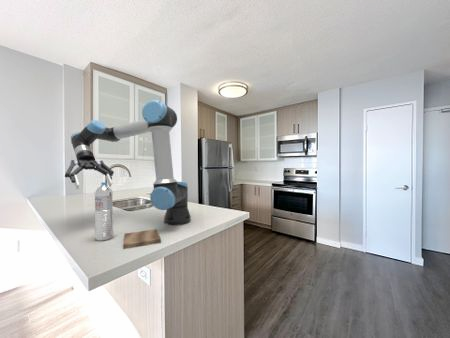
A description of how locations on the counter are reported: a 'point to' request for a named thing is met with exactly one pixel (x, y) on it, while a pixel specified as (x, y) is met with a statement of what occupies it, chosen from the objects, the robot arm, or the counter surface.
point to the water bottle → (103, 213)
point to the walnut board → (141, 238)
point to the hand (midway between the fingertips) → (95, 186)
